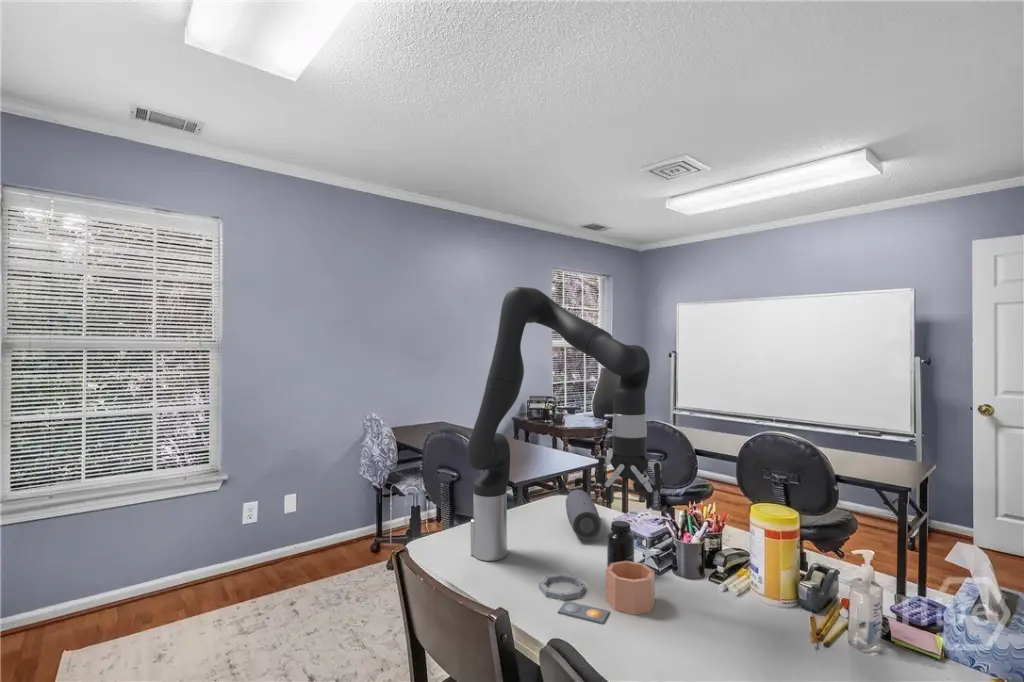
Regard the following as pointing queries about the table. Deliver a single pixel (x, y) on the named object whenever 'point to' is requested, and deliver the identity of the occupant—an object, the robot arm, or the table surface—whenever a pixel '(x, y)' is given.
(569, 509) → the bluetooth speaker
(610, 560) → the supplement bottle
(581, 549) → the table surface
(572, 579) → the gray octagonal ring
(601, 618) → the card
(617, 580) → the octagonal planter pot
